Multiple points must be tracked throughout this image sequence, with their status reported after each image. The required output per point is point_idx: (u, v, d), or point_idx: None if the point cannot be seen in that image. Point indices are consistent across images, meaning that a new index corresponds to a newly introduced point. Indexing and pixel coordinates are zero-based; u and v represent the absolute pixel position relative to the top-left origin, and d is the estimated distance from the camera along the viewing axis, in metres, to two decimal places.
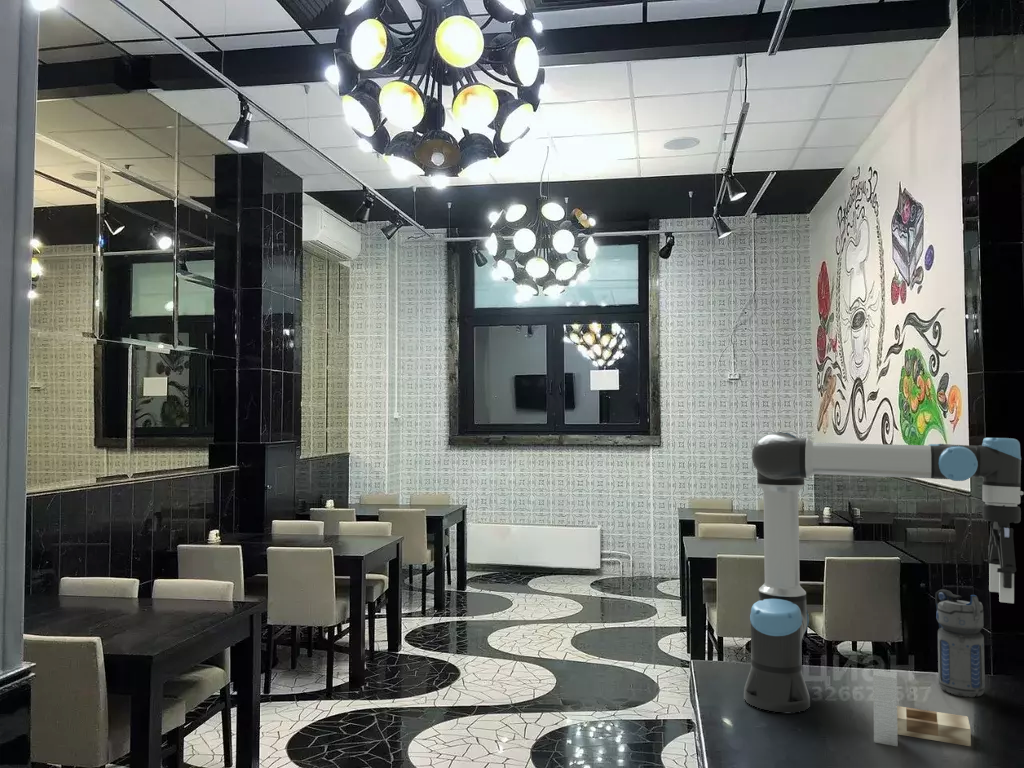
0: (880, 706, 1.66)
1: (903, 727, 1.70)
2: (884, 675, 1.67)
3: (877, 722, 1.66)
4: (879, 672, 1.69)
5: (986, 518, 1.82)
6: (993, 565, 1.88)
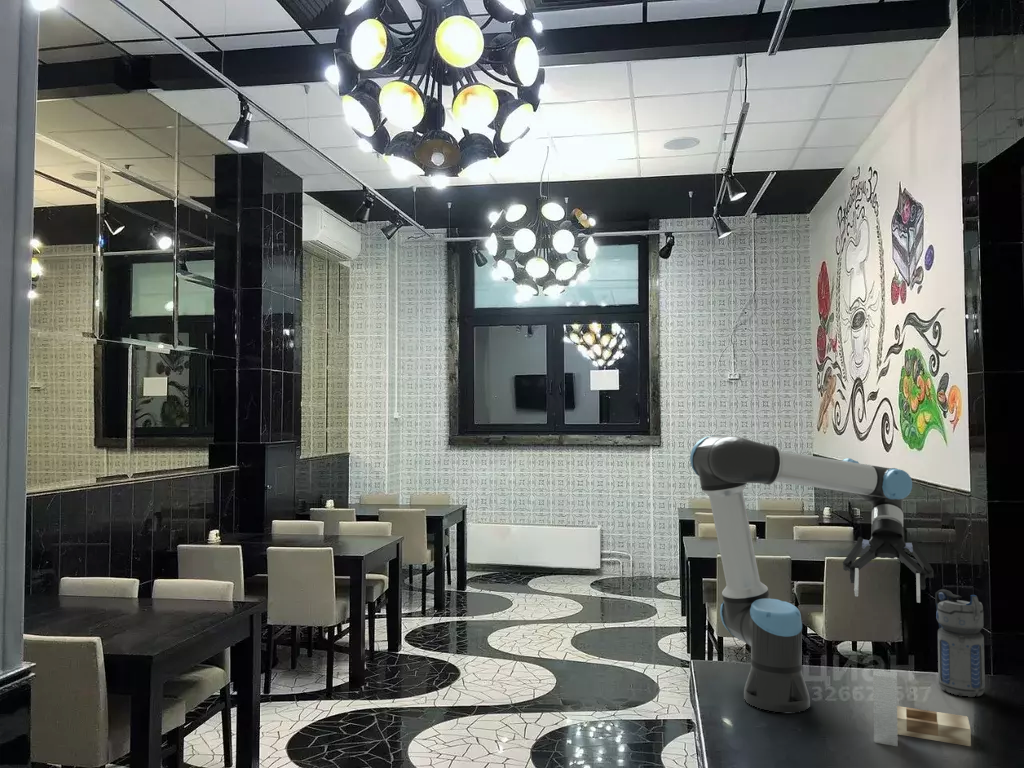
0: (880, 706, 1.66)
1: (903, 727, 1.70)
2: (884, 675, 1.67)
3: (877, 722, 1.66)
4: (879, 672, 1.69)
5: (894, 529, 1.99)
6: (858, 570, 1.97)
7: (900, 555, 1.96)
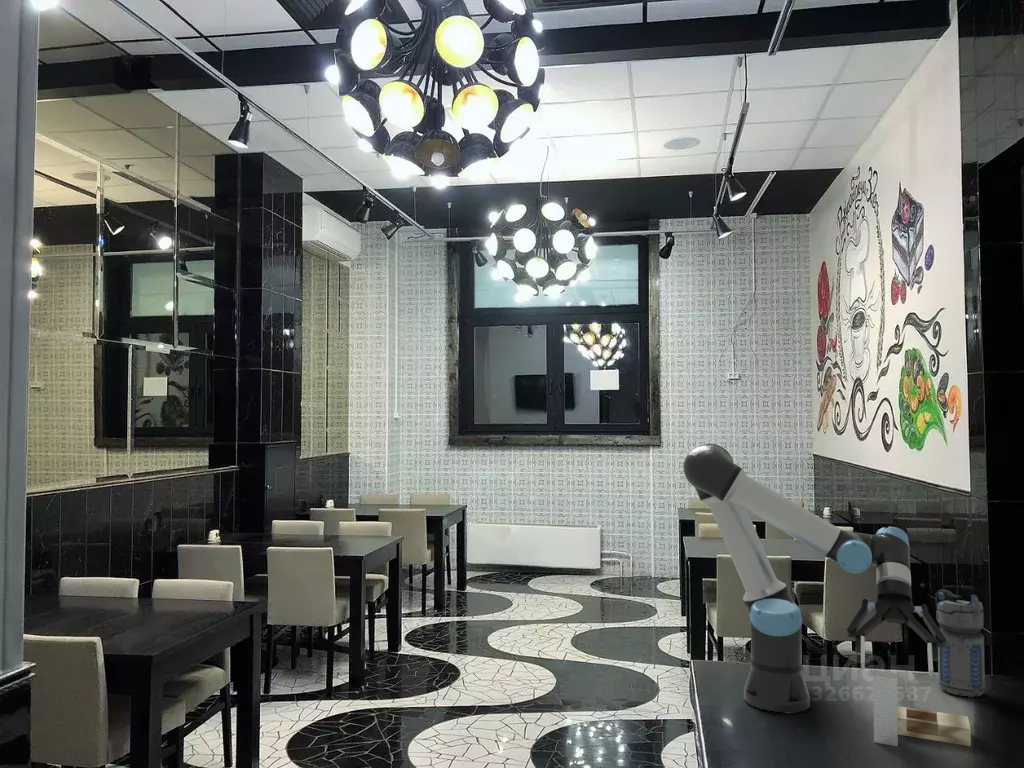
0: (880, 706, 1.66)
1: (903, 727, 1.70)
2: (884, 675, 1.67)
3: (877, 722, 1.66)
4: (879, 672, 1.69)
5: (902, 591, 1.83)
6: (864, 638, 1.81)
7: (909, 621, 1.81)
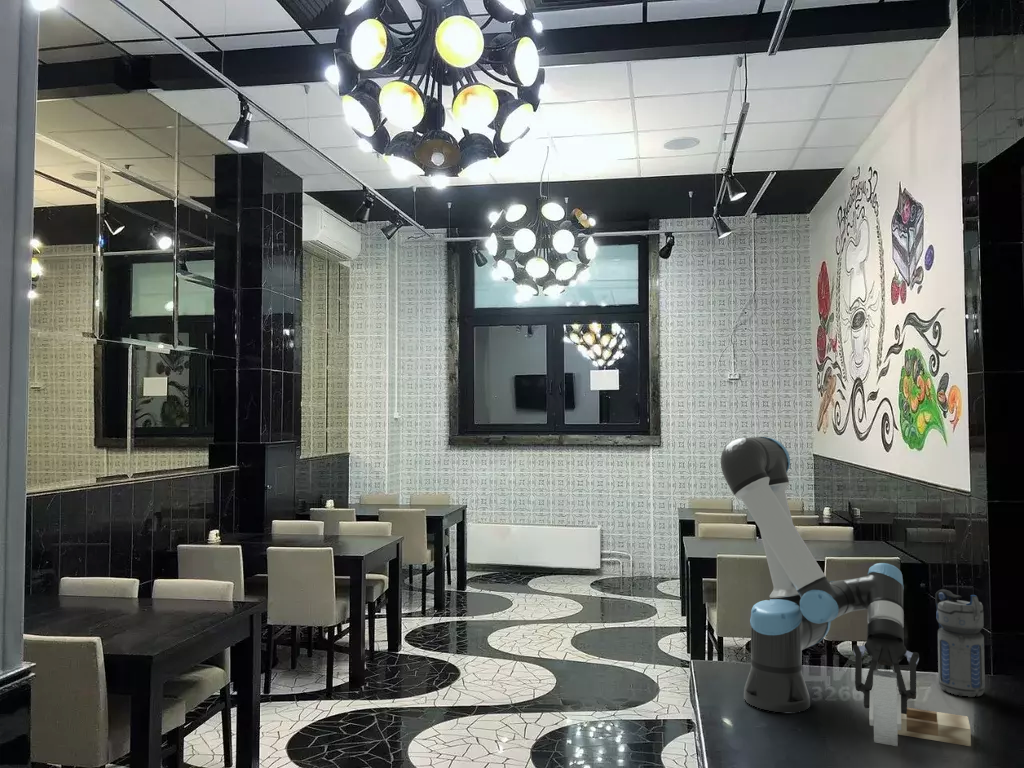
0: (880, 706, 1.66)
1: (903, 727, 1.70)
2: (884, 675, 1.67)
3: (877, 722, 1.66)
4: (879, 672, 1.69)
5: (893, 632, 1.75)
6: None
7: None
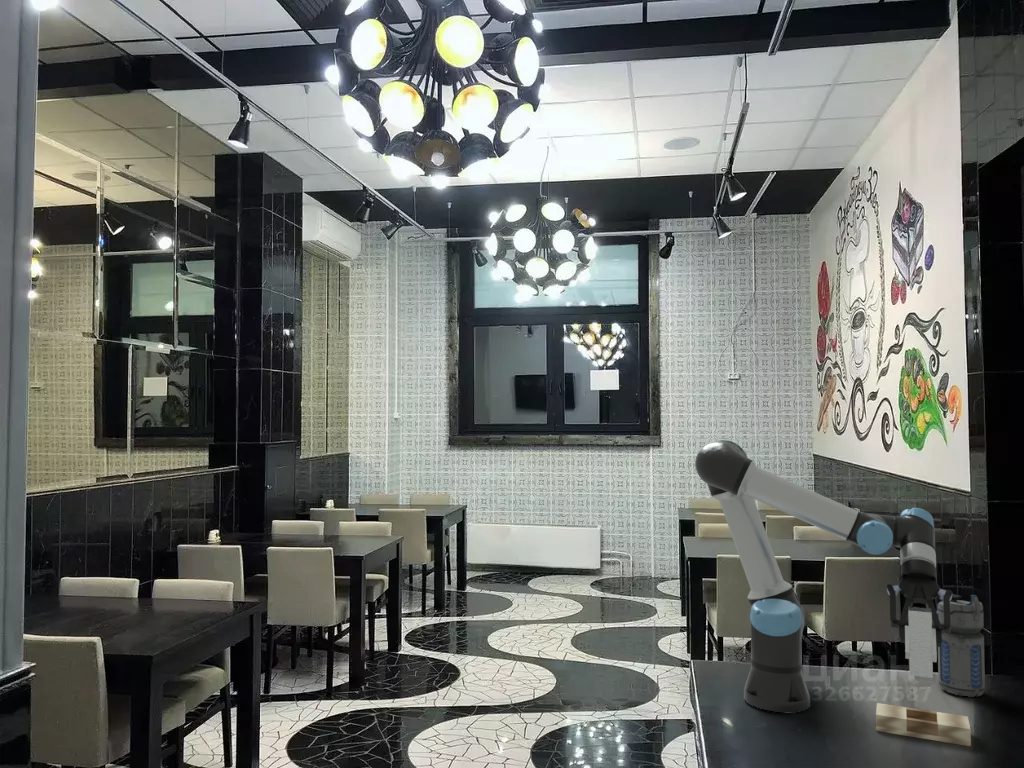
0: (915, 640, 1.72)
1: (903, 727, 1.70)
2: (919, 610, 1.72)
3: (913, 655, 1.72)
4: (914, 608, 1.74)
5: (927, 571, 1.80)
6: (908, 628, 1.74)
7: None
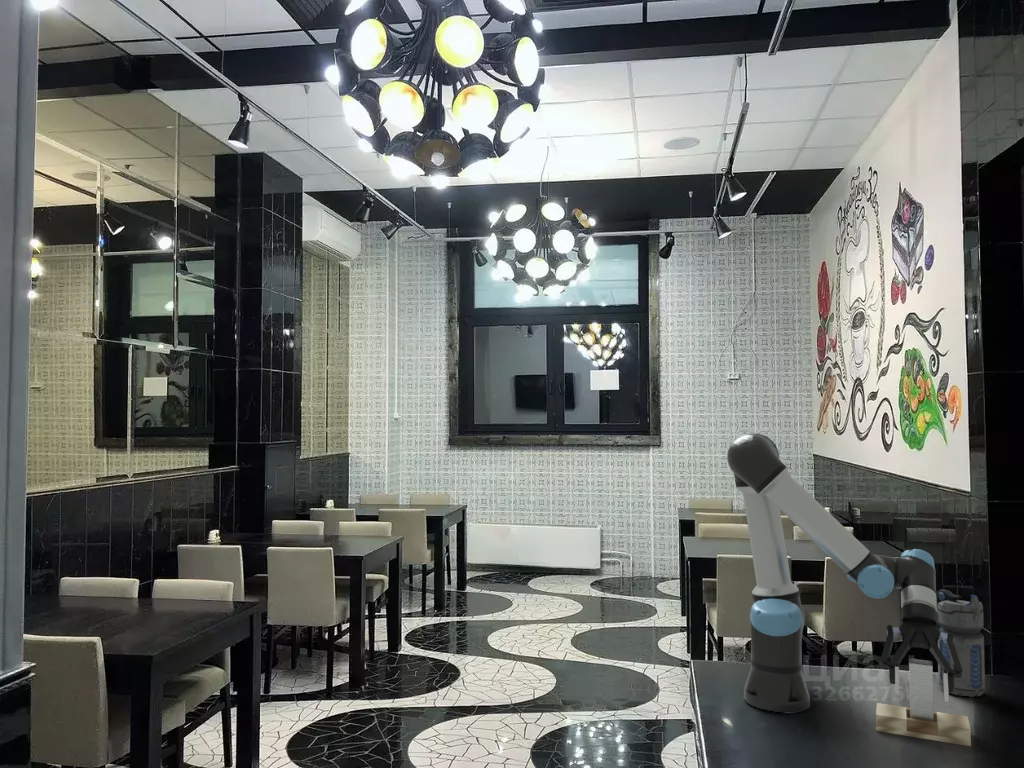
0: (916, 693, 1.71)
1: (903, 727, 1.70)
2: (920, 663, 1.72)
3: (913, 709, 1.71)
4: (915, 660, 1.74)
5: (927, 615, 1.80)
6: (898, 669, 1.75)
7: None
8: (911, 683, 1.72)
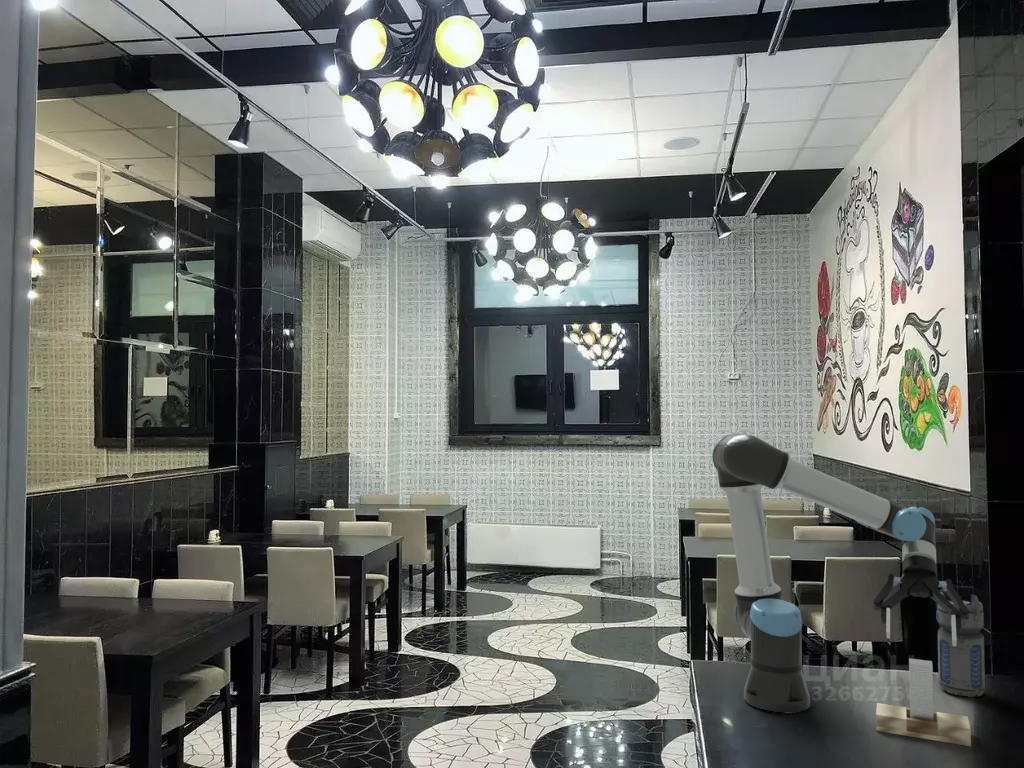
0: (916, 693, 1.71)
1: (903, 727, 1.70)
2: (920, 663, 1.72)
3: (913, 709, 1.71)
4: (915, 660, 1.74)
5: (927, 567, 1.91)
6: None
7: (934, 594, 1.88)
8: (911, 683, 1.72)
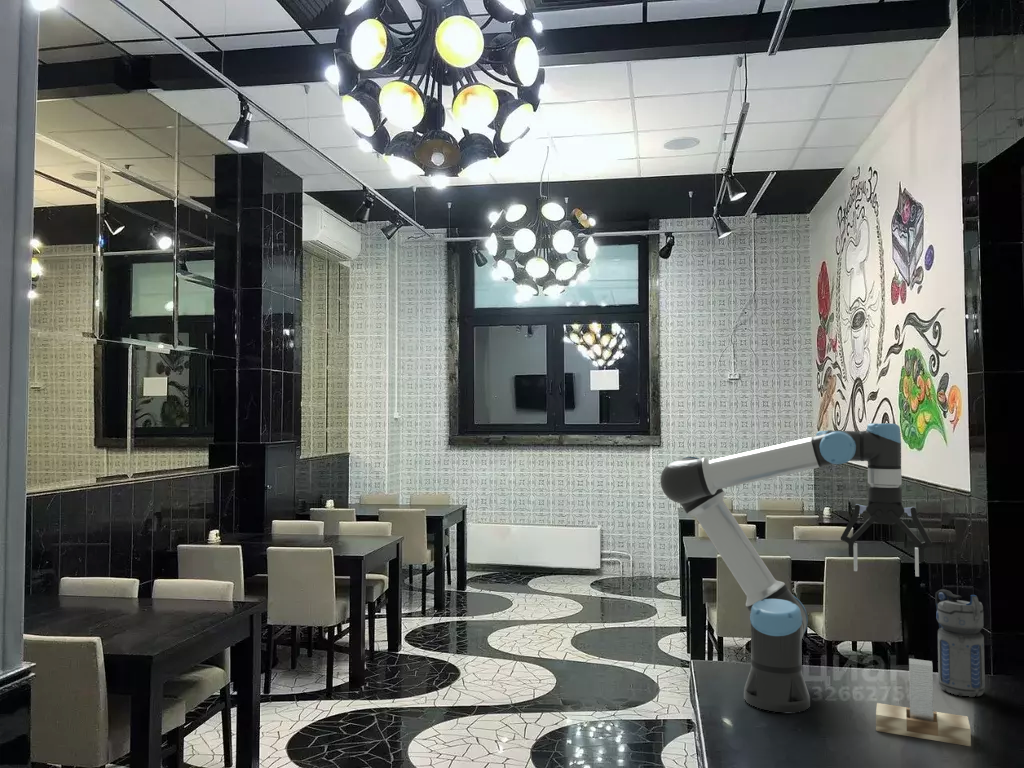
0: (916, 693, 1.71)
1: (903, 727, 1.70)
2: (920, 663, 1.72)
3: (913, 709, 1.71)
4: (915, 660, 1.74)
5: (892, 501, 1.90)
6: (856, 545, 1.95)
7: (898, 525, 1.91)
8: (911, 683, 1.72)
